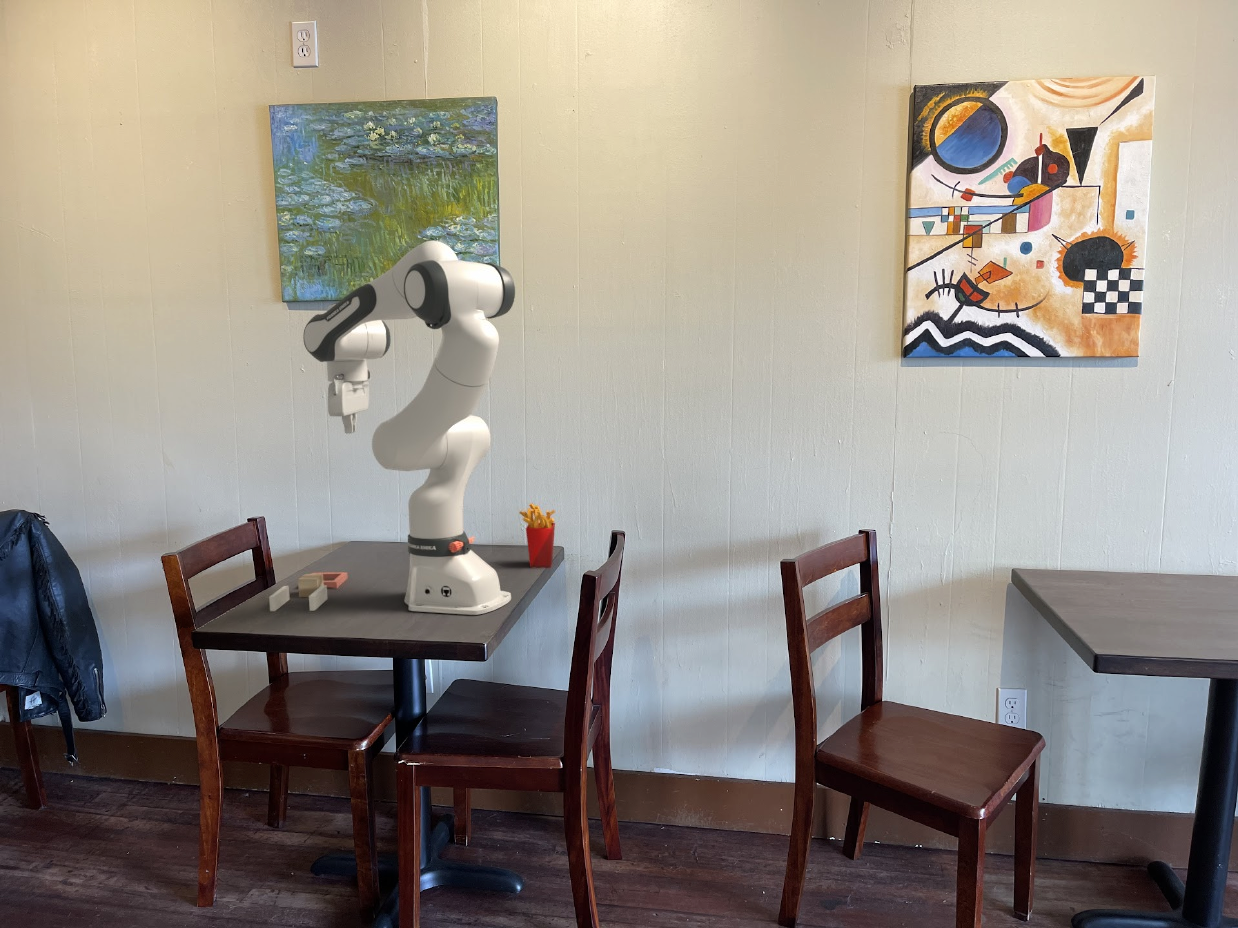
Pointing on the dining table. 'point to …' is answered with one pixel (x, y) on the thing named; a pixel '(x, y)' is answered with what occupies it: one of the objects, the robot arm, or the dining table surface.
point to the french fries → (539, 536)
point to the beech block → (309, 584)
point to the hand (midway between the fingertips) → (350, 433)
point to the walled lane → (283, 596)
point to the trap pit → (333, 579)
